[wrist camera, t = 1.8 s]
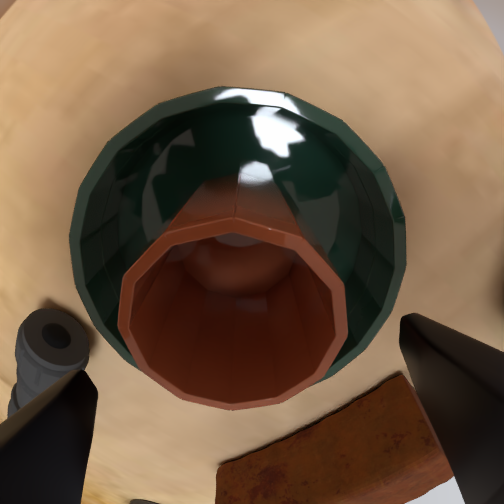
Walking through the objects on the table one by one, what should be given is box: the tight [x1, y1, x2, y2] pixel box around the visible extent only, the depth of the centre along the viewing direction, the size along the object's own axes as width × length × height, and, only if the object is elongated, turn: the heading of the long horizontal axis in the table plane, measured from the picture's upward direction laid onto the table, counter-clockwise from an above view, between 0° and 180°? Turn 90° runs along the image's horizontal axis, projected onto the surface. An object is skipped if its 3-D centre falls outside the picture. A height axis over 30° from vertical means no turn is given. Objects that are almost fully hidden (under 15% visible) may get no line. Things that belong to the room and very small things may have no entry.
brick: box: [215, 375, 454, 504], centre depth 21 cm, size 20×8×8 cm, turn 131°
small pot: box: [117, 173, 348, 411], centre depth 13 cm, size 7×7×8 cm
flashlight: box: [8, 308, 89, 418], centre depth 18 cm, size 15×5×5 cm, turn 145°
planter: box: [69, 86, 406, 387], centre depth 15 cm, size 14×14×5 cm
